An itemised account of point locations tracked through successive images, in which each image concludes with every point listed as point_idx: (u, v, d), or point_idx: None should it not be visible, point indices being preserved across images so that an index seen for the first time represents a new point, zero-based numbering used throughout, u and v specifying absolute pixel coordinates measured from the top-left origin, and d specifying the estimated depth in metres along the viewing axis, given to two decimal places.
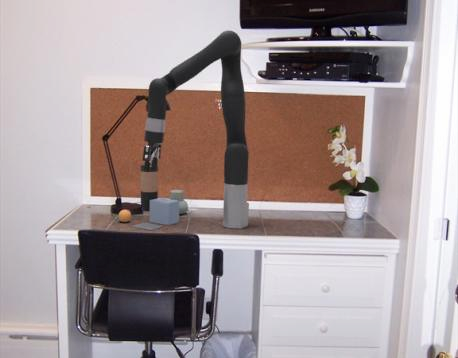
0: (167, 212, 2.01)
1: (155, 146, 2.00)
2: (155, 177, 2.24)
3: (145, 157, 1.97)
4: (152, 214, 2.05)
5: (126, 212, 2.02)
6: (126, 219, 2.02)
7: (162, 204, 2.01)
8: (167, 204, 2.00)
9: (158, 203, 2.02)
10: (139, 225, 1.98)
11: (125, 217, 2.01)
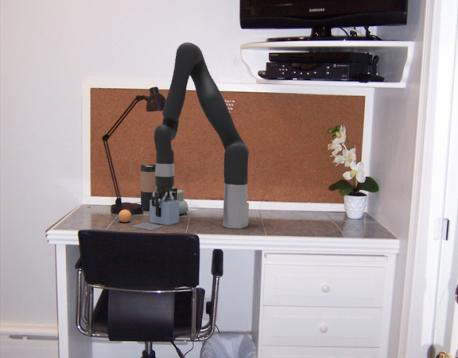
0: (167, 212, 2.01)
1: (166, 190, 2.03)
2: None
3: None
4: (152, 214, 2.05)
5: (126, 212, 2.02)
6: (126, 219, 2.02)
7: (162, 204, 2.01)
8: (167, 204, 2.00)
9: (158, 203, 2.02)
10: (139, 225, 1.98)
11: (125, 217, 2.01)
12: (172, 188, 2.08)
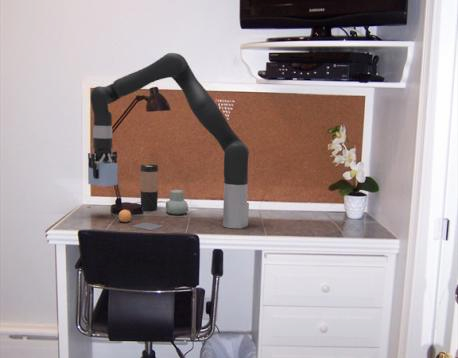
0: (104, 173, 2.02)
1: (104, 152, 2.05)
2: (155, 177, 2.24)
3: None
4: (90, 176, 2.07)
5: (126, 212, 2.02)
6: (126, 219, 2.02)
7: (99, 166, 2.03)
8: (104, 165, 2.02)
9: (96, 165, 2.04)
10: (139, 225, 1.98)
11: (125, 217, 2.01)
12: (111, 151, 2.10)
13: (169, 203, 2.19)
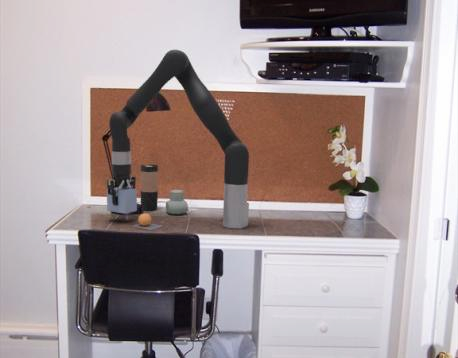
0: (123, 200, 1.99)
1: (123, 178, 2.02)
2: (155, 177, 2.24)
3: None
4: (109, 203, 2.03)
5: None
6: (142, 214, 1.97)
7: (118, 192, 2.00)
8: (123, 192, 1.98)
9: (115, 191, 2.01)
10: (139, 225, 1.98)
11: (140, 215, 1.97)
12: (130, 177, 2.06)
13: (169, 203, 2.19)
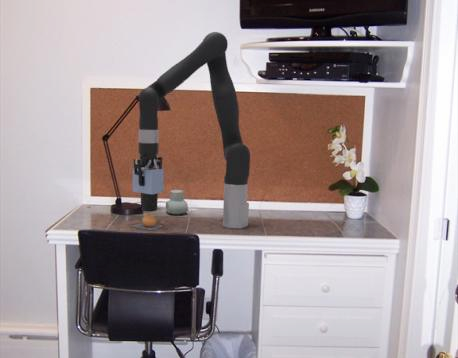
0: (151, 180, 1.90)
1: (149, 158, 1.93)
2: None
3: None
4: (135, 183, 1.94)
5: (145, 215, 1.97)
6: (150, 217, 1.95)
7: (145, 172, 1.91)
8: (150, 172, 1.90)
9: (141, 171, 1.92)
10: (139, 225, 1.98)
11: (148, 216, 1.95)
12: (157, 157, 1.98)
13: (169, 203, 2.19)
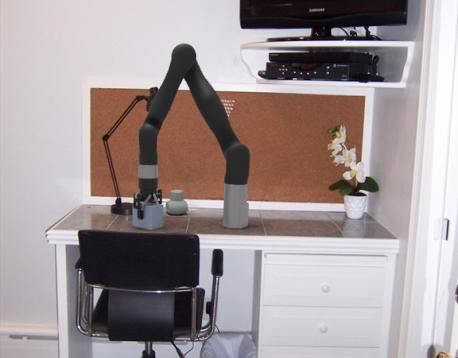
0: (150, 216, 1.92)
1: (149, 192, 1.95)
2: None
3: None
4: (135, 218, 1.96)
5: None
6: None
7: (145, 208, 1.93)
8: (150, 208, 1.92)
9: None
10: None
11: None
12: (156, 190, 2.00)
13: (169, 203, 2.19)
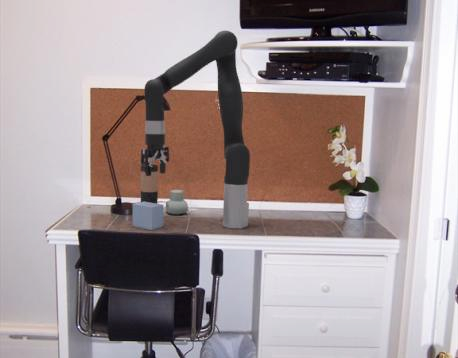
0: (150, 216, 1.92)
1: (156, 149, 1.95)
2: (155, 177, 2.24)
3: None
4: (135, 218, 1.96)
5: None
6: None
7: (145, 208, 1.93)
8: (150, 208, 1.92)
9: (141, 207, 1.94)
10: None
11: None
12: (163, 147, 2.00)
13: (169, 203, 2.19)
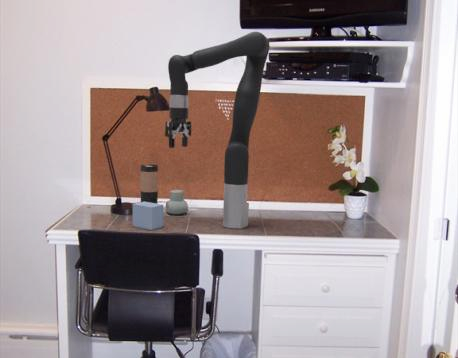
0: (150, 216, 1.92)
1: (180, 122, 2.03)
2: (155, 177, 2.24)
3: None
4: (135, 218, 1.96)
5: None
6: None
7: (145, 208, 1.93)
8: (150, 208, 1.92)
9: (141, 207, 1.94)
10: None
11: None
12: (186, 121, 2.08)
13: (169, 203, 2.19)
